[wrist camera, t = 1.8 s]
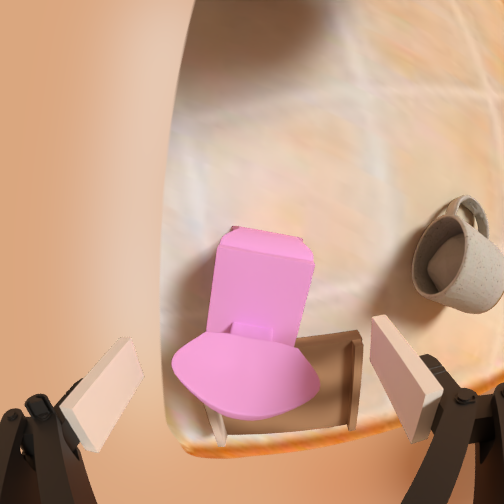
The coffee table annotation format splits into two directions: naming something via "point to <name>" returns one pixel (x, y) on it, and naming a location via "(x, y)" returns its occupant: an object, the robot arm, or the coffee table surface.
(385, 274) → the coffee table surface
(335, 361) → the shelf board
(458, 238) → the ceramic mug
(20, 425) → the robot arm
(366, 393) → the coffee table surface
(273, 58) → the coffee table surface
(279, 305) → the toy chair
